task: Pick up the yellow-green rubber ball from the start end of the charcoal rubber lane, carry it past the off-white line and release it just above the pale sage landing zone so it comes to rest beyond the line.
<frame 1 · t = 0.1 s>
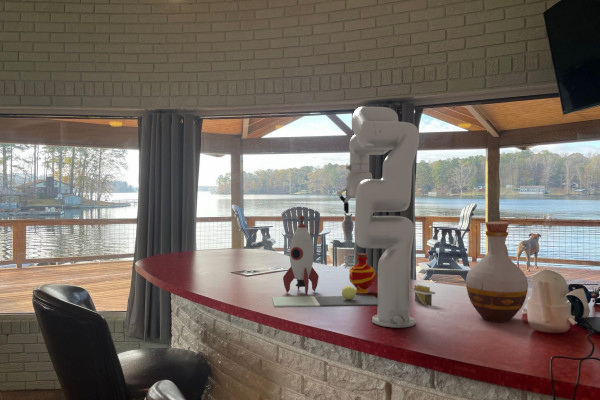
hand: (359, 213, 187), 31 cm above the bar counter, tool pointing down, fingers open, 9 cm apart
toy: (301, 293, 187), on the bar counter
ball: (348, 293, 172), point 3 cm above the bar counter, touching lane
jug: (496, 318, 150), on the bar counter
potion bottle: (362, 292, 190), on the bar counter
lane: (326, 301, 171), on the bar counter
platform: (421, 305, 170), on the bar counter
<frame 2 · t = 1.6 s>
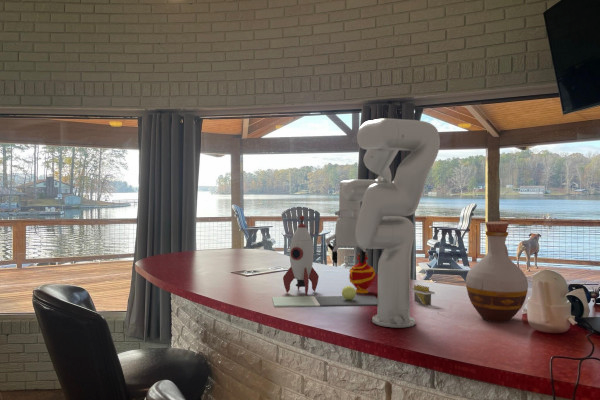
hand: (348, 262, 172), 14 cm above the bar counter, tool pointing down, fingers open, 9 cm apart
nothing on the bar counter moved.
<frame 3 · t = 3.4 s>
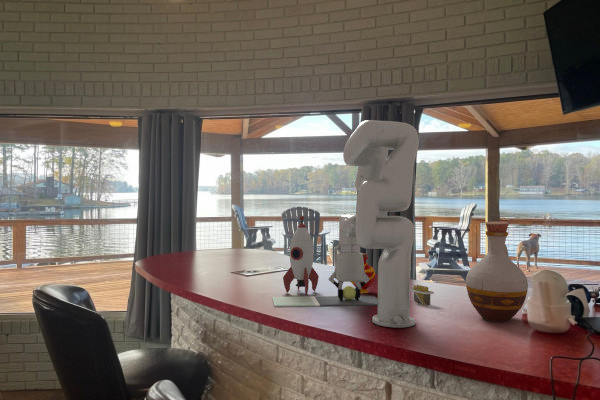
hand: (348, 299, 172), 1 cm above the bar counter, tool pointing down, fingers closed on ball, lane, 5 cm apart
ball: (348, 293, 172), point 3 cm above the bar counter, touching gripper, lane
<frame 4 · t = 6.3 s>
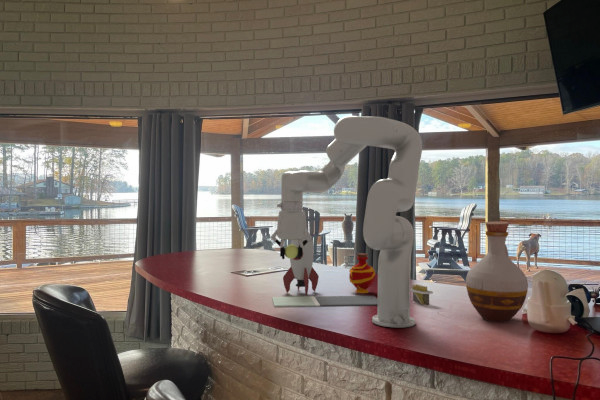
hand: (291, 258, 170), 16 cm above the bar counter, tool pointing down, fingers closed on ball, 5 cm apart
ball: (291, 251, 170), point 18 cm above the bar counter, touching gripper
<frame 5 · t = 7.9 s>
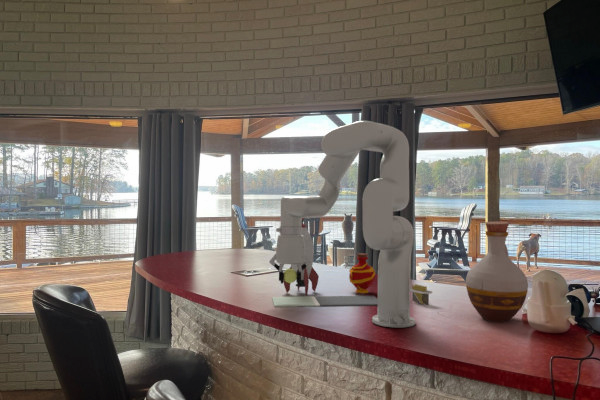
hand: (289, 282, 170), 7 cm above the bar counter, tool pointing down, fingers closed on ball, 5 cm apart
ball: (289, 275, 170), point 9 cm above the bar counter, touching gripper
when the fingers open (3 cm above the bar counter, at t = 9.1 s): ball drops 2 cm, resting on lane.
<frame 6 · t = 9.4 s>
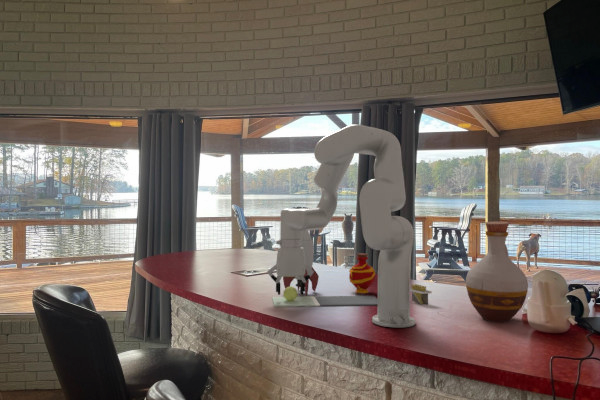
hand: (290, 293, 169), 3 cm above the bar counter, tool pointing down, fingers open, 7 cm apart
ball: (290, 293, 170), point 3 cm above the bar counter, touching lane
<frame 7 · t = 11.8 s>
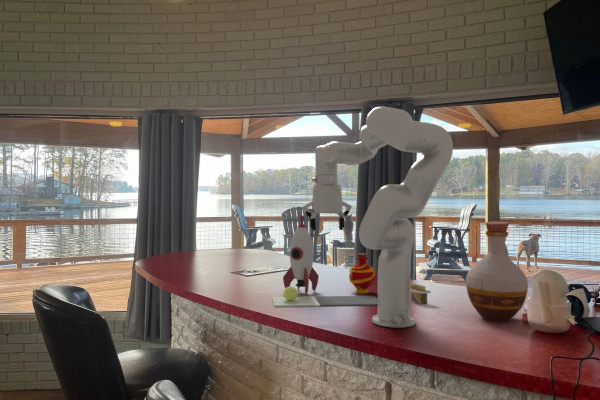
hand: (327, 230, 167), 26 cm above the bar counter, tool pointing down, fingers open, 9 cm apart
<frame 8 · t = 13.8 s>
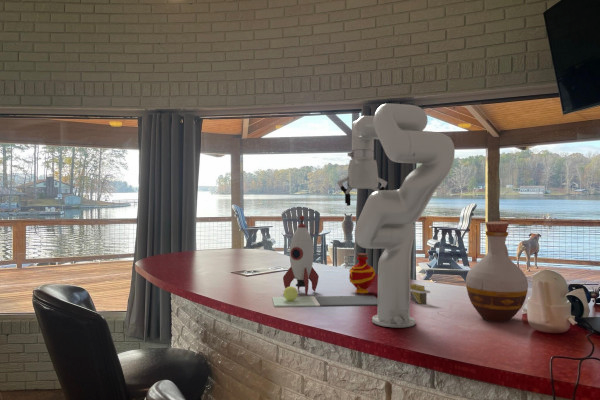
hand: (362, 205, 166), 34 cm above the bar counter, tool pointing down, fingers open, 9 cm apart
at the end: ball inside the target area (3.4 cm from its centre), point 3.0 cm above the bar counter; the gripper is holding nothing; ball moved 20.9 cm from its start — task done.
